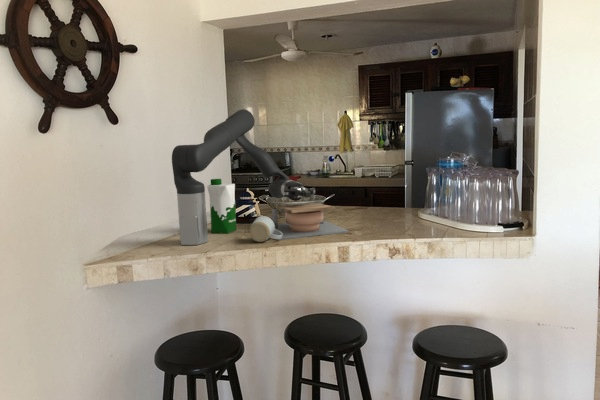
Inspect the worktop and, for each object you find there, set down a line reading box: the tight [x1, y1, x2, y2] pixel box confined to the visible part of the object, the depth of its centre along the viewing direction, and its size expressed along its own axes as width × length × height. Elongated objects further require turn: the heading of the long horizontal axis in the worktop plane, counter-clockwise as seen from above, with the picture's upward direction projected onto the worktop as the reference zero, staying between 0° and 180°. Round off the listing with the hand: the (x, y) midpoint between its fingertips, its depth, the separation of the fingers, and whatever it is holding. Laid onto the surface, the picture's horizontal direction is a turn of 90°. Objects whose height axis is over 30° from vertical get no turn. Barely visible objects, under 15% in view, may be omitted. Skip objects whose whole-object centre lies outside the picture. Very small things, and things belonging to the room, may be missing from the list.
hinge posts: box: [271, 208, 323, 229], centre depth 176 cm, size 2×20×8 cm, turn 109°
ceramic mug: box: [248, 215, 283, 243], centre depth 155 cm, size 11×8×8 cm
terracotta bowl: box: [284, 210, 324, 232], centre depth 169 cm, size 14×14×7 cm
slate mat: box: [273, 219, 350, 241], centre depth 172 cm, size 26×26×1 cm
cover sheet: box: [277, 202, 336, 213], centre depth 167 cm, size 18×16×1 cm
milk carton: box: [206, 178, 237, 234], centre depth 173 cm, size 9×9×20 cm
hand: (307, 194), depth 164 cm, fingers closed
